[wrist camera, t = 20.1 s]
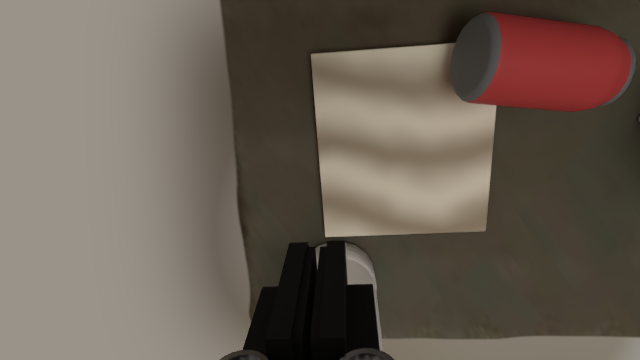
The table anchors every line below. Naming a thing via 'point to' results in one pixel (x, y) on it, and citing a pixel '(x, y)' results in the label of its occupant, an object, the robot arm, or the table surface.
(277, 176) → the table surface
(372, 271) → the bottle
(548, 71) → the beer can
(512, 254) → the table surface
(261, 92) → the table surface
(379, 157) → the birch board
